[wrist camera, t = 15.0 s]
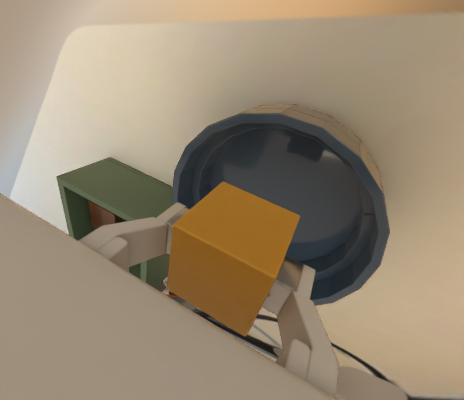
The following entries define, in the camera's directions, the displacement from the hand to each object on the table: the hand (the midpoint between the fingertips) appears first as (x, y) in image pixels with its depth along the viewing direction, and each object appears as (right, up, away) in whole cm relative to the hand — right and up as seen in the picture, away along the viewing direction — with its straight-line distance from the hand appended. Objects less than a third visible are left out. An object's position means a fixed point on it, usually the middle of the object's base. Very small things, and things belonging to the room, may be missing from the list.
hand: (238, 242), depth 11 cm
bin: (-11, 0, +20) cm, 23 cm away
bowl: (+4, +2, +11) cm, 12 cm away
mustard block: (+1, +1, +1) cm, 1 cm away
